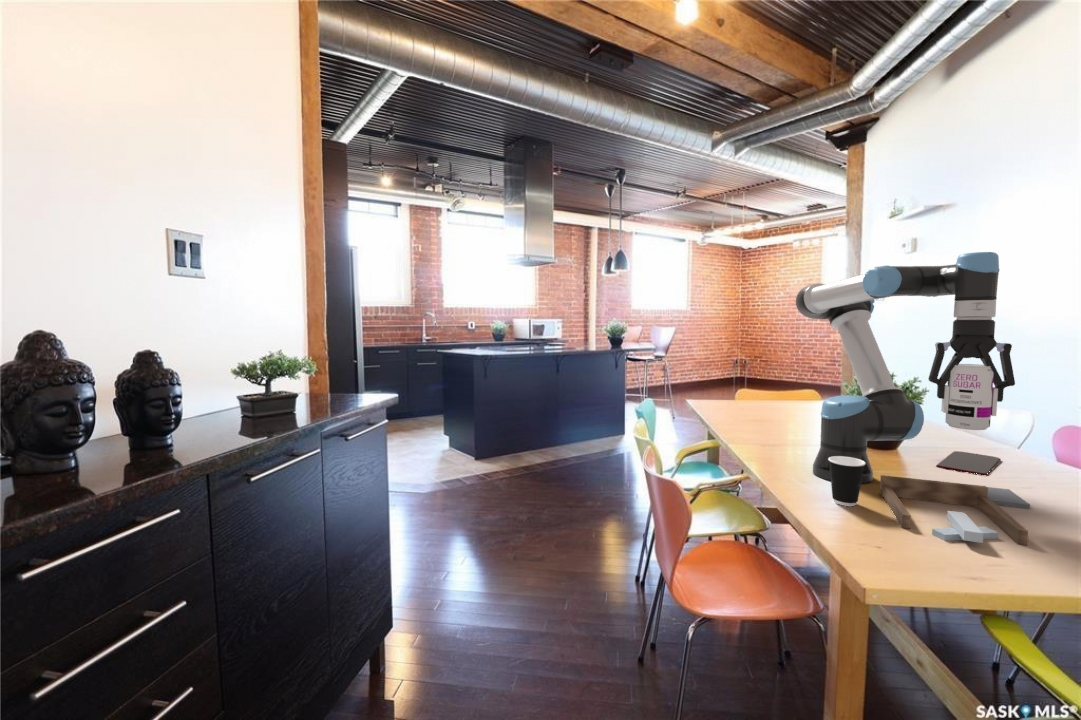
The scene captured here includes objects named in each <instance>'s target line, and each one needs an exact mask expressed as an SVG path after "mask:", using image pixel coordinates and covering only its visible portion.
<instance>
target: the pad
mask: <svg viewBox="0 0 1081 720" xmlns="http://www.w3.org/2000/svg"><path fill="white" fill-rule="evenodd" d="M986 487H987V488H988V496H987V497H988V498H989V499H990V500H992V501H993V502H994V503H995V504H996V505H998V506H1003V507H1013V508H1022V509H1029V508H1030V509H1031V504H1030V503H1028V502H1027V500H1025V499H1023V498H1022V497H1021V496H1019V495H1017V493H1015V492H1013V491H1012V489H1011V490H1010V489H1009V488H999V487H991V486H986Z"/></svg>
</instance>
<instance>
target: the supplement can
mask: <svg viewBox="0 0 1081 720" xmlns="http://www.w3.org/2000/svg"><path fill="white" fill-rule="evenodd" d="M993 374H994V373H993V371H992V369H991V368H990V366H984V364H978V363H977V364H975V363H974V364H973V363H959V364H958V365H955V367H954V368H953V369H952V370H951V375H950V378H949V380H948V381H947V386H949V402H948V413H945V419H944V420H945V423H946V424H947V426H949V427H951V428H955V429H960V430H961V429H962V430H966V431H967V430H968V431H969V430H970V431H985V430H987V429H988V428H991V404H992V389H993V387H994V386H993V385H994V383H993Z"/></svg>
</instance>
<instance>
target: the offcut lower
mask: <svg viewBox="0 0 1081 720" xmlns="http://www.w3.org/2000/svg"><path fill="white" fill-rule="evenodd" d="M977 527H978V528H979V529H980V530H981V531H982V532H983V540H993V539H994V540H995V539H999V532H998V531H997V530H994V529H991V528H989V527H987V526H984V525H983V526H977ZM931 535H932V536H933V537H936V538H937V539H940V540H941V541H944V542H946V541H964V540H963V539H962V537H961V536H960V535H959V534H958V532H957V531H956V530H955V529H954V527H943V528H942V527H941V528H932V529H931Z"/></svg>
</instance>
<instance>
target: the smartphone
mask: <svg viewBox="0 0 1081 720" xmlns="http://www.w3.org/2000/svg"><path fill="white" fill-rule="evenodd" d="M1001 460H1002V459H1001V458H1000V457H996V456H992V455H986V454H979V453H972V452H967V451H966V452H965V451H958V450H957V451H956V450H955V451H953V452H951V453H949V455H947V456H946V457H945V458H943V459H942V460H941V461H939V462H938V463H937V464H936V466H935V467H936V468H938V469H943V470H948V471H954V470H955V472H960V471H962V473H965V472H969V473H968V474H971V473H975V474H974V475H977V474H981V475H980V476H982V475H988V476H989V474H990V473H989V471H991V470H992V469H993V468H994V467H995V466H996V465H997V464H1000V463H1001ZM997 466H998V465H997ZM997 466H996V467H997ZM996 467H995V468H996ZM995 468H994V469H995ZM994 469H993V470H994ZM993 470H992V471H993ZM992 471H991V472H992ZM976 473H977V474H976ZM987 473H989V474H987Z"/></svg>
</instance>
